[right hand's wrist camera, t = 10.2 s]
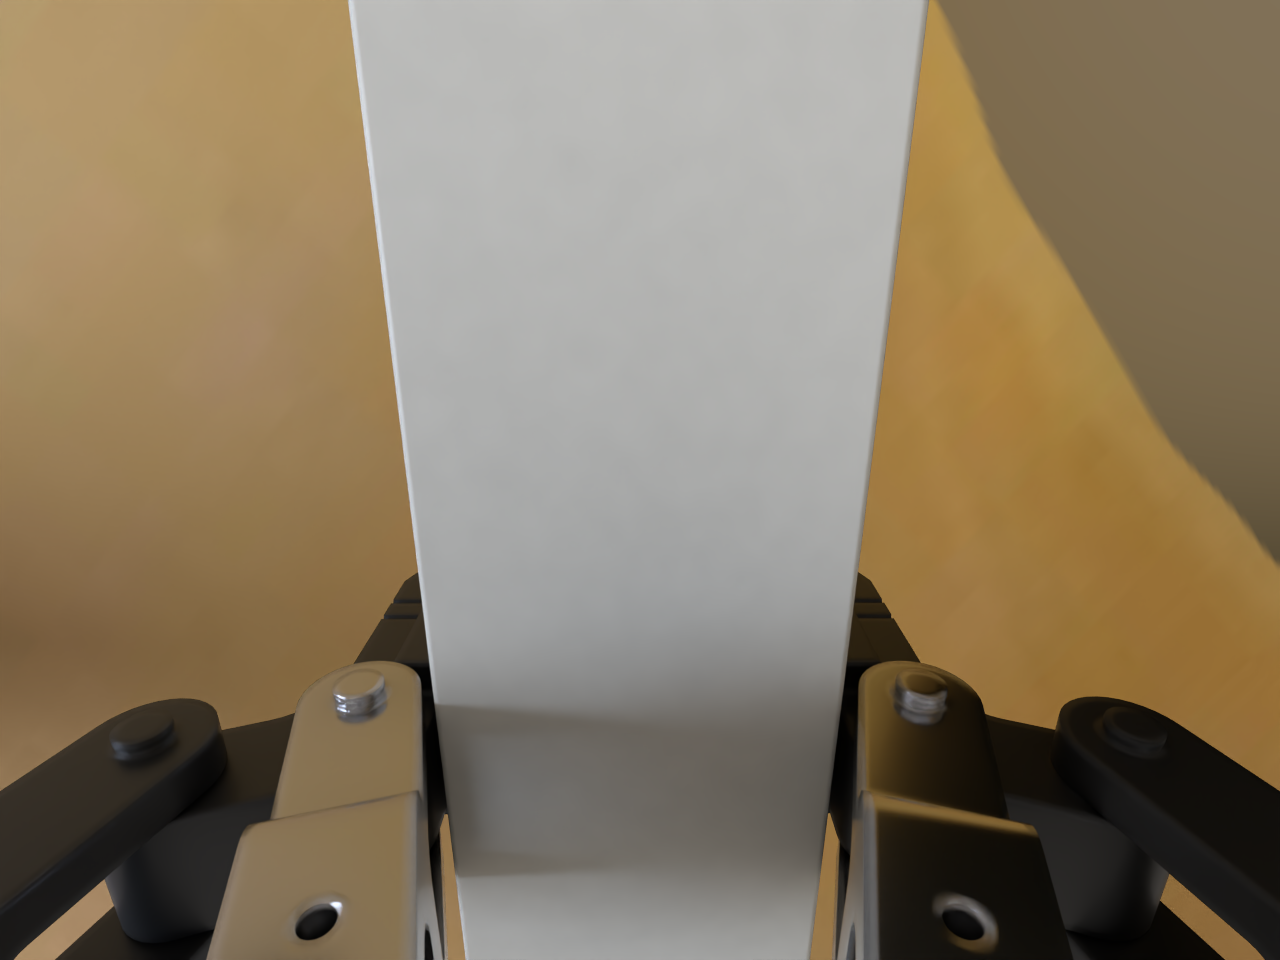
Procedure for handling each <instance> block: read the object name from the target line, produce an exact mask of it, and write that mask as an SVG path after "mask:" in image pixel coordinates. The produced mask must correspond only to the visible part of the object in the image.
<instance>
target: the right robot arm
mask: <svg viewBox="0 0 1280 960" xmlns="http://www.w3.org/2000/svg"><path fill="white" fill-rule="evenodd" d="M828 813H830V814H831V817H832V821H833V824H834V827H835V830H836V833H837V836H838V839H839V841H838V849H837V856H836V879H835V902H834V925H833V949H832V960H1225V959H1223V958H1222V957H1221V956H1220V955H1219V954H1218V953H1217V952H1216V951H1215V950H1214V949H1213V948H1211V947H1210V946H1209V945H1208V944H1207V943H1206V942H1205V941H1204V940H1203V939H1202V938H1200V937H1199V936H1198V935H1197V934H1196V933H1195V932H1194V931H1193V930H1192V929H1191V928H1189V927H1188V926H1187V925H1186V924H1185V923H1184V922H1183V921H1182V920H1181V919H1180V918H1178V917H1177V916H1176V915H1175V914H1174V913H1173V912H1172V911H1171V910H1170V909H1169V908H1167V907H1166V906H1165V905H1164V904H1163V903H1162V902H1161V901H1160V899H1161V896H1162V893H1163V890H1164V887H1165V885H1166V882H1167V879H1168V876H1169V874H1171V875H1172V876H1173V877H1174V878H1175V879H1176V880H1177V881H1179V882H1180V883H1181V884H1182V885H1183V886H1184V887H1186V888H1187V889H1188V890H1189V891H1190V892H1191V893H1192V894H1194V895H1195V896H1196V897H1197V898H1198V899H1199V900H1201V901H1202V902H1203V903H1204V904H1205V905H1206V906H1208V907H1209V908H1210V909H1211V910H1212V911H1213V912H1214V913H1216V914H1217V915H1218V916H1219V917H1220V918H1221V919H1223V920H1224V921H1225V922H1226V923H1227V924H1228V925H1230V926H1231V927H1232V928H1233V929H1234V930H1235V931H1236V932H1238V933H1239V934H1240V935H1241V936H1242V937H1243V938H1245V939H1246V940H1247V941H1248V942H1249V943H1250V944H1251V945H1252V946H1253V947H1254V948H1255V949H1256V950H1257V951H1258V952H1259V953H1260V954H1261V955H1262V956H1263V958H1264V959H1265V960H1280V791H1279V790H1277V789H1276V788H1274V787H1273V786H1271V785H1270V784H1268V783H1267V782H1265V781H1264V780H1262V779H1261V778H1259V777H1258V776H1256V775H1254V774H1253V773H1251V772H1250V771H1248V770H1247V769H1245V768H1244V767H1242V766H1241V765H1239V764H1238V763H1236V762H1235V761H1233V760H1232V759H1230V758H1229V757H1227V756H1226V755H1224V754H1223V753H1221V752H1220V751H1218V750H1217V749H1215V748H1214V747H1212V746H1211V745H1209V744H1208V743H1206V742H1205V741H1203V740H1202V739H1200V738H1199V737H1197V736H1196V735H1194V734H1193V733H1191V732H1190V731H1188V730H1187V729H1185V728H1184V727H1182V726H1181V725H1179V724H1178V723H1176V722H1174V721H1173V720H1171V719H1169V718H1168V717H1166V716H1164V715H1162V714H1160V713H1158V712H1156V711H1153V710H1151V709H1148V708H1146V707H1144V706H1141V705H1138V704H1135V703H1132V702H1128V701H1124V700H1120V699H1114V698H1108V697H1083V698H1077V699H1074V700H1071V701H1069V702H1068V703H1066V704H1065V705H1064V706H1063V707H1062V708H1061V711H1060V714H1059V717H1058V721H1057V725H1056V729H1055V730H1053V729H1048V728H1043V727H1039V726H1034V725H1029V724H1024V723H1019V722H1015V721H1010V720H1005V719H1001V718H997V717H993V716H989V715H986V714H985V712H984V708H983V704H982V702H981V699H980V698H979V696H978V695H977V693H976V692H975V691H974V690H973V689H972V688H971V687H970V686H969V685H968V684H967V683H965V682H964V681H963V680H961V679H960V678H958V677H957V676H955V675H953V674H951V673H949V672H947V671H945V670H942V669H940V668H937V667H934V666H931V665H927V664H923V663H921V662H920V661H919V659H918V658H917V656H916V654H915V653H914V651H913V649H912V648H911V646H910V644H909V643H908V641H907V640H906V638H905V636H904V635H903V633H902V631H901V630H900V628H899V626H898V625H897V623H896V622H895V620H894V618H891V613H890V612H889V610H888V608H887V607H886V605H885V604H884V603H882V599H881V597H880V595H879V594H878V592H877V590H876V589H875V587H874V585H873V584H872V582H871V581H870V580H869V579H867V578H866V577H865V576H863V575H862V574H860V573H859V572H858V575H857V583H856V591H855V599H854V607H853V615H852V623H851V631H850V639H849V647H848V656H847V664H846V672H845V680H844V688H843V696H842V704H841V712H840V720H839V728H838V736H837V744H836V752H835V760H834V768H833V776H832V784H831V792H830V800H829V808H828ZM444 814H448V810H447V802H446V794H445V786H444V777H443V769H442V761H441V753H440V745H439V737H438V729H437V720H436V712H435V704H434V696H433V688H432V680H431V672H430V664H429V655H428V647H427V639H426V631H425V623H424V615H423V607H422V598H421V590H420V582H419V574H418V573H416V574H415V575H413V576H412V577H410V578H409V579H408V580H406V581H405V582H404V584H403V585H402V587H401V588H400V590H399V592H398V593H397V595H396V597H395V598H394V602H393V603H391V605H390V606H389V608H388V609H387V611H386V613H385V614H384V619H381V621H380V622H379V624H378V626H377V627H376V629H375V630H374V632H373V634H372V635H371V637H370V638H369V640H368V642H367V643H366V645H365V646H364V648H363V650H362V651H361V653H360V655H359V656H358V658H357V659H356V661H355V663H354V664H353V665H349V666H346V667H343V668H340V669H338V670H335V671H333V672H331V673H329V674H327V675H325V676H323V677H322V678H320V679H319V680H317V681H316V682H315V683H313V684H312V685H311V686H310V687H309V688H308V689H307V690H306V691H305V692H304V693H303V695H302V696H301V698H300V699H299V702H298V704H297V707H296V712H295V713H294V714H291V715H288V716H285V717H281V718H277V719H273V720H269V721H264V722H260V723H255V724H250V725H245V726H240V727H236V728H231V729H226V730H221V726H220V723H219V719H218V715H217V712H216V710H215V709H214V708H213V707H212V706H211V705H209V704H208V703H206V702H203V701H200V700H195V699H169V700H163V701H157V702H153V703H149V704H146V705H143V706H140V707H137V708H134V709H131V710H129V711H126V712H124V713H121V714H119V715H117V716H115V717H113V718H111V719H109V720H108V721H106V722H104V723H103V724H101V725H99V726H98V727H96V728H95V729H93V730H92V731H90V732H89V733H87V734H86V735H84V736H83V737H81V738H80V739H78V740H77V741H75V742H74V743H72V744H71V745H69V746H68V747H66V748H65V749H63V750H62V751H60V752H59V753H57V754H56V755H54V756H53V757H51V758H50V759H48V760H47V761H45V762H44V763H42V764H41V765H39V766H38V767H36V768H35V769H33V770H32V771H30V772H28V773H27V774H25V775H24V776H22V777H21V778H19V779H18V780H16V781H15V782H13V783H12V784H10V785H9V786H7V787H6V788H4V789H3V790H1V791H0V960H14V959H15V957H16V956H17V955H18V954H19V953H20V952H21V951H22V950H23V949H24V948H25V947H26V946H27V945H28V944H30V943H31V942H32V941H33V940H34V939H35V938H37V937H38V936H39V935H40V934H41V933H42V932H44V931H45V930H46V929H47V928H48V927H49V926H50V925H52V924H53V923H54V922H55V921H56V920H57V919H59V918H60V917H61V916H62V915H63V914H64V913H65V912H67V911H68V910H69V909H70V908H71V907H72V906H74V905H75V904H76V903H77V902H78V901H79V900H81V899H82V898H83V897H84V896H85V895H86V894H87V893H89V892H90V891H91V890H92V889H93V888H94V887H96V886H97V885H98V884H99V883H100V882H101V881H103V880H104V879H105V882H106V885H107V887H108V890H109V893H110V896H111V898H112V901H113V904H114V907H113V908H111V909H110V910H109V911H108V912H107V913H106V914H105V915H104V916H103V917H102V918H100V919H99V920H98V921H97V922H96V923H95V924H94V925H93V926H92V927H91V928H89V929H88V930H87V931H86V932H85V933H84V934H83V935H82V936H81V937H80V938H78V939H77V940H76V941H75V942H74V943H73V944H72V945H71V946H70V947H69V948H67V949H66V950H65V951H64V952H63V953H62V954H61V955H60V956H59V957H58V958H56V959H55V960H448V950H447V927H446V904H445V880H444V857H443V849H442V842H441V834H440V826H441V823H442V820H443V817H444Z"/></svg>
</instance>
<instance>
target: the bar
mask: <svg viewBox="0 0 1280 960" xmlns="http://www.w3.org/2000/svg"><path fill="white" fill-rule="evenodd" d="M348 4H349V12H350V20H351V28H352V37H353V45H354V53H355V61H356V69H357V77H358V85H359V94H360V102H361V110H362V118H363V126H364V134H365V142H366V151H367V159H368V167H369V175H370V183H371V191H372V199H373V208H374V216H375V224H376V232H377V240H378V248H379V256H380V265H381V273H382V281H383V289H384V297H385V305H386V313H387V322H388V330H389V338H390V346H391V354H392V362H393V370H394V379H395V387H396V395H397V403H398V411H399V419H400V427H401V436H402V444H403V452H404V460H405V468H406V476H407V484H408V493H409V501H410V509H411V517H412V525H413V533H414V541H415V550H416V558H417V566H418V574H419V582H420V590H421V598H422V607H423V615H424V623H425V631H426V639H427V647H428V655H429V664H430V672H431V680H432V688H433V696H434V704H435V712H436V720H437V729H438V737H439V745H440V753H441V761H442V769H443V777H444V786H445V794H446V802H447V810H448V818H449V826H450V834H451V843H452V851H453V859H454V867H455V875H456V883H457V891H458V900H459V908H460V916H461V924H462V932H463V940H464V948H465V957H466V960H810V953H811V945H812V937H813V929H814V921H815V913H816V905H817V897H818V889H819V881H820V873H821V865H822V857H823V849H824V841H825V832H826V824H827V816H828V808H829V800H830V792H831V784H832V776H833V768H834V760H835V752H836V744H837V736H838V728H839V720H840V712H841V704H842V696H843V688H844V680H845V672H846V664H847V656H848V647H849V639H850V631H851V623H852V615H853V607H854V599H855V591H856V583H857V575H858V567H859V559H860V551H861V543H862V535H863V527H864V519H865V511H866V503H867V495H868V487H869V479H870V470H871V462H872V454H873V446H874V438H875V430H876V422H877V414H878V406H879V398H880V390H881V382H882V374H883V366H884V358H885V350H886V342H887V334H888V326H889V318H890V310H891V302H892V294H893V285H894V277H895V269H896V261H897V253H898V245H899V237H900V229H901V221H902V213H903V205H904V197H905V189H906V181H907V173H908V165H909V157H910V149H911V141H912V133H913V125H914V117H915V108H916V100H917V92H918V84H919V76H920V68H921V60H922V52H923V44H924V36H925V28H926V20H927V12H928V4H929V0H348Z"/></svg>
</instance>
